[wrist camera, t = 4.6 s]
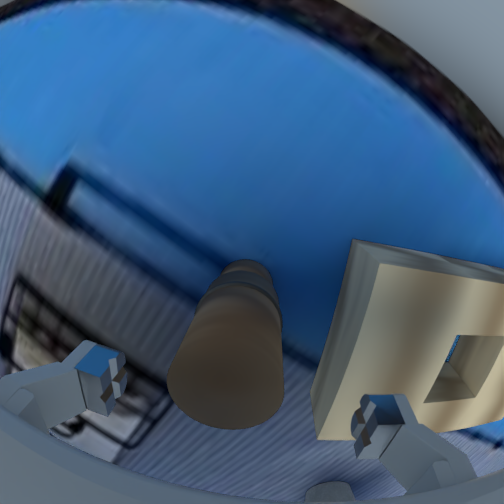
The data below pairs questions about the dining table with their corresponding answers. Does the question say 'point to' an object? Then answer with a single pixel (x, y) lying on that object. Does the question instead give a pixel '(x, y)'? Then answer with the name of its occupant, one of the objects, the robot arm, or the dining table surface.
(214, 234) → the dining table surface
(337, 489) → the house plant
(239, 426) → the peg
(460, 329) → the seat block
